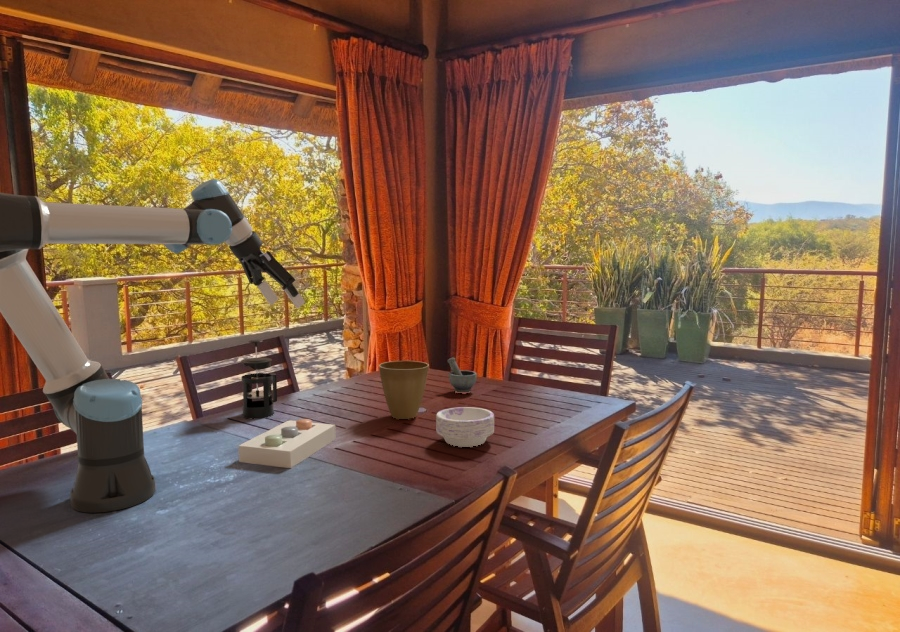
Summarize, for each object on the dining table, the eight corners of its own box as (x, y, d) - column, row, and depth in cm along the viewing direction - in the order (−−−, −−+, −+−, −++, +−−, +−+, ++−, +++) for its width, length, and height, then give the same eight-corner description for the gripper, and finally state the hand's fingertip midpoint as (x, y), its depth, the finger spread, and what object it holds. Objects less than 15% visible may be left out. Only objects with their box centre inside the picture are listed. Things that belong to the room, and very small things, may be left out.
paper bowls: (454, 430, 169) (454, 402, 168) (503, 439, 161) (504, 410, 160) (424, 445, 156) (424, 415, 155) (476, 456, 148) (476, 424, 147)
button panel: (290, 468, 139) (290, 451, 139) (239, 461, 143) (238, 445, 143) (335, 439, 160) (335, 424, 160) (289, 434, 164) (288, 420, 164)
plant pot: (435, 420, 178) (435, 367, 176) (387, 425, 173) (386, 371, 171) (419, 408, 192) (419, 358, 190) (374, 412, 186) (373, 361, 185)
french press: (252, 421, 177) (249, 343, 174) (233, 415, 182) (230, 340, 180) (285, 412, 186) (283, 339, 183) (266, 407, 192) (264, 336, 189)
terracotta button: (307, 439, 156) (306, 423, 155) (293, 437, 157) (293, 422, 157) (314, 434, 160) (314, 419, 159) (301, 433, 161) (301, 418, 160)
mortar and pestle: (481, 391, 214) (481, 358, 213) (467, 396, 206) (467, 362, 205) (455, 387, 220) (455, 355, 219) (440, 392, 213) (440, 358, 211)
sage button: (276, 456, 143) (276, 440, 142) (262, 455, 144) (261, 438, 143) (285, 451, 146) (285, 435, 146) (271, 449, 148) (271, 433, 147)
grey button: (292, 447, 149) (292, 431, 149) (278, 445, 150) (278, 430, 150) (301, 442, 153) (300, 427, 153) (287, 441, 154) (286, 425, 154)
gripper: (277, 228, 144) (323, 297, 155) (230, 230, 162) (274, 292, 172) (254, 246, 140) (302, 316, 151) (208, 247, 158) (254, 309, 168)
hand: (287, 303), depth 162 cm, fingers open, 13 cm apart
